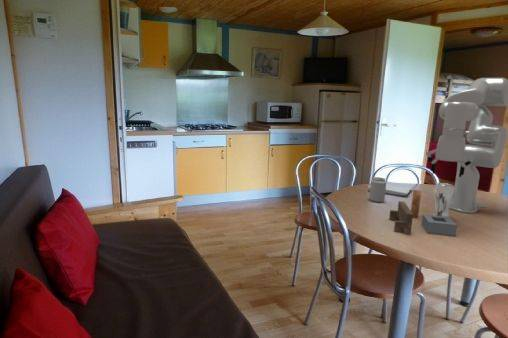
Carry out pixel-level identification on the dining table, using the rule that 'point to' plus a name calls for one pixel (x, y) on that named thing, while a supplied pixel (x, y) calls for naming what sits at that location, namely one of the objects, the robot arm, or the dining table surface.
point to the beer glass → (443, 198)
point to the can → (377, 189)
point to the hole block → (438, 225)
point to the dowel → (415, 203)
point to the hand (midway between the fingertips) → (446, 174)
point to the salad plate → (397, 188)
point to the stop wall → (402, 218)
